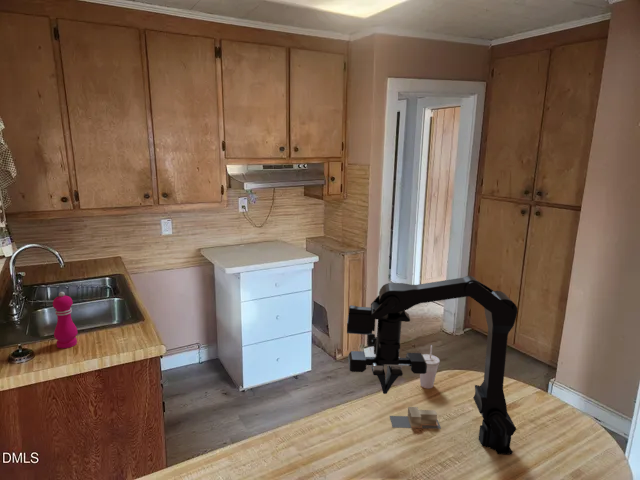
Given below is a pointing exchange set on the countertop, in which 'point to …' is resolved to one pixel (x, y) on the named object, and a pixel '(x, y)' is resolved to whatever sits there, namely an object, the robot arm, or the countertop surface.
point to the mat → (404, 423)
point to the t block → (421, 417)
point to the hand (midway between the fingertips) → (384, 393)
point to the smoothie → (429, 370)
